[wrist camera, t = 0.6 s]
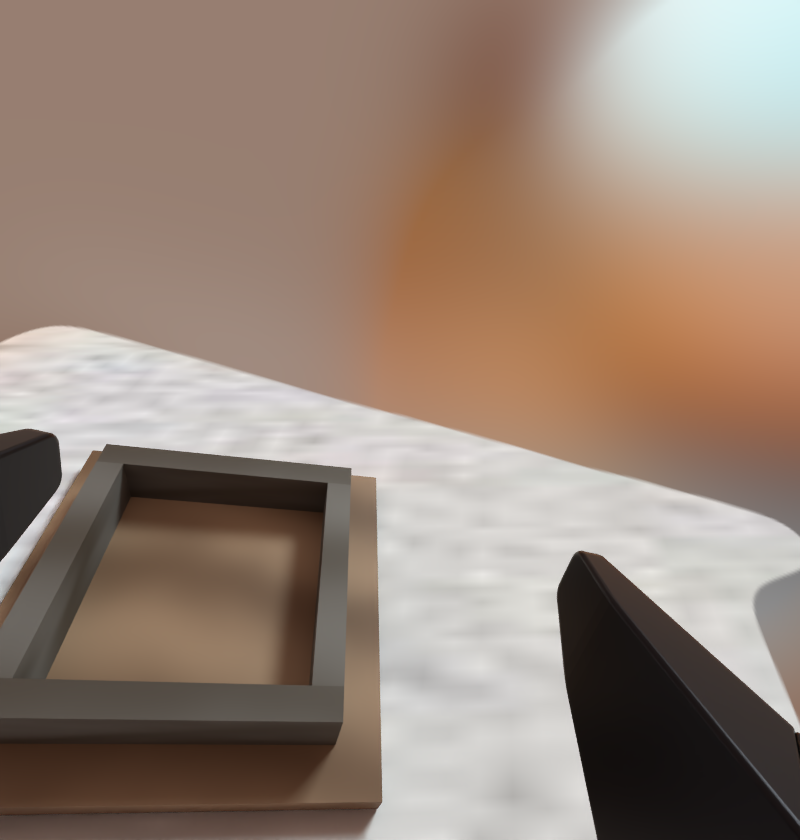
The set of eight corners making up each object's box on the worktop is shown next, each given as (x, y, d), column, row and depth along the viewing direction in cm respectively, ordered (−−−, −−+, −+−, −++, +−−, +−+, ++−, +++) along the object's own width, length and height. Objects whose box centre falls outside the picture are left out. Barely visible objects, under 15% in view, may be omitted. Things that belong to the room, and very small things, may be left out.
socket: (377, 808, 19) (394, 782, 16) (-108, 816, 16) (-165, 787, 14) (373, 488, 31) (382, 448, 28) (96, 462, 28) (83, 416, 26)
